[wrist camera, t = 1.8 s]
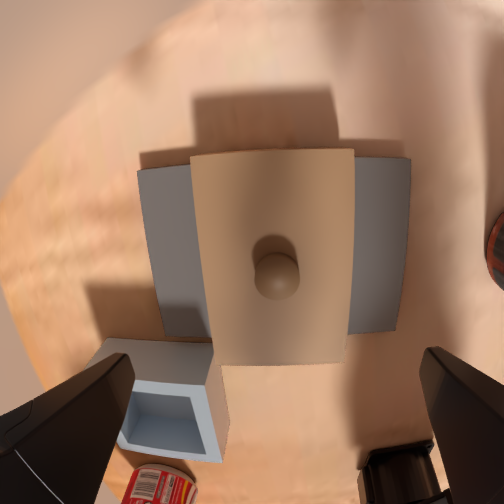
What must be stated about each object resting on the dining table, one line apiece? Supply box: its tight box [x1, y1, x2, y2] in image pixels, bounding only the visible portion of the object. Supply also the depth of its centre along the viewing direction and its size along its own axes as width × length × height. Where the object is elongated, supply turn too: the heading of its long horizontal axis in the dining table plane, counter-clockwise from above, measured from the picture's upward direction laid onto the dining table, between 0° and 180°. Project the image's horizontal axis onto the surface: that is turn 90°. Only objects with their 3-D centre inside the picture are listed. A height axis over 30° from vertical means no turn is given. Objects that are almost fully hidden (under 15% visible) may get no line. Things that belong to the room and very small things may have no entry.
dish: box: [83, 337, 230, 463], centre depth 20 cm, size 8×8×4 cm
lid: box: [190, 147, 355, 366], centre depth 16 cm, size 7×11×3 cm, turn 4°
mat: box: [137, 157, 411, 337], centre depth 17 cm, size 14×10×1 cm
